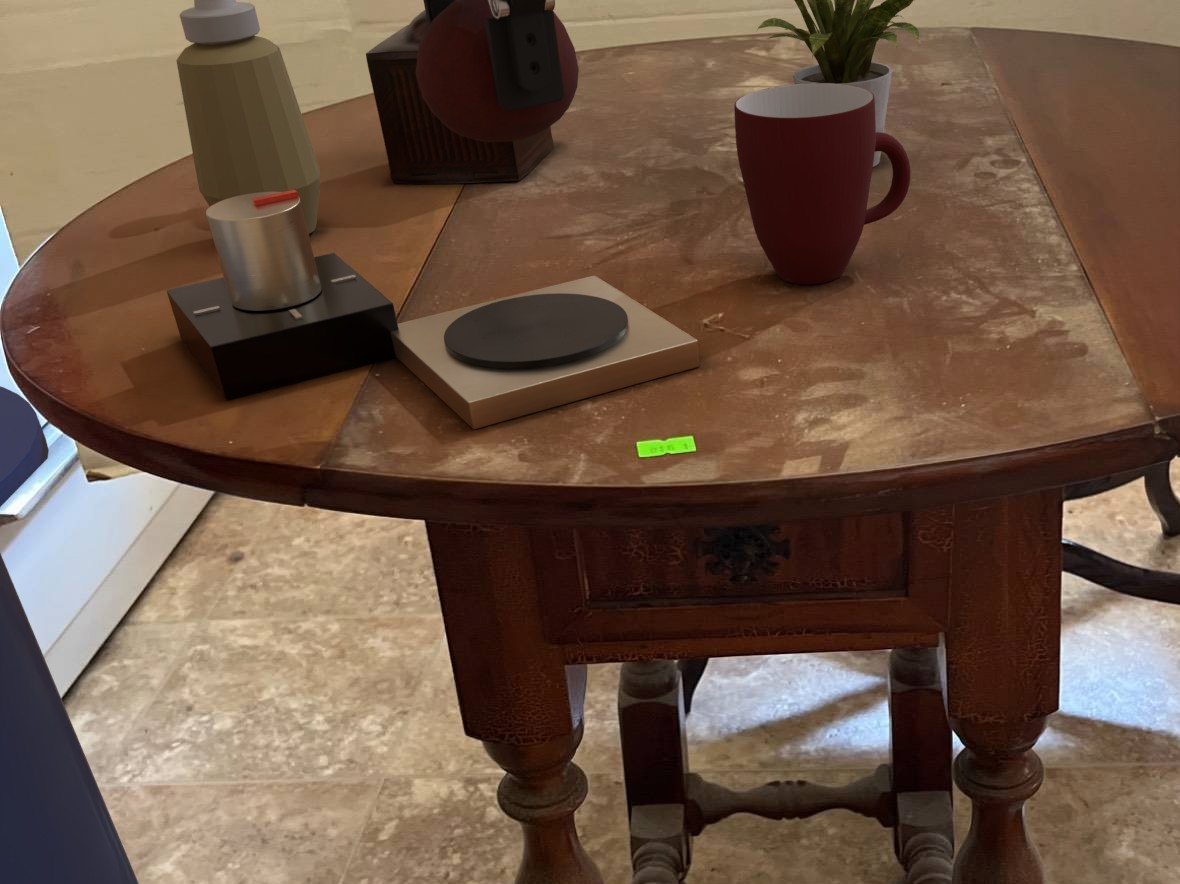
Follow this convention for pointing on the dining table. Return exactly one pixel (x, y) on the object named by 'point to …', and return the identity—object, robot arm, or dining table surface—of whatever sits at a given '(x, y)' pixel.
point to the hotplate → (541, 350)
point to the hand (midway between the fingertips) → (498, 87)
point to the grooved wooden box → (436, 125)
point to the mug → (813, 174)
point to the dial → (264, 250)
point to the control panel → (285, 331)
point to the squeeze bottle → (243, 109)
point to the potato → (481, 77)
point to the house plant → (848, 46)
